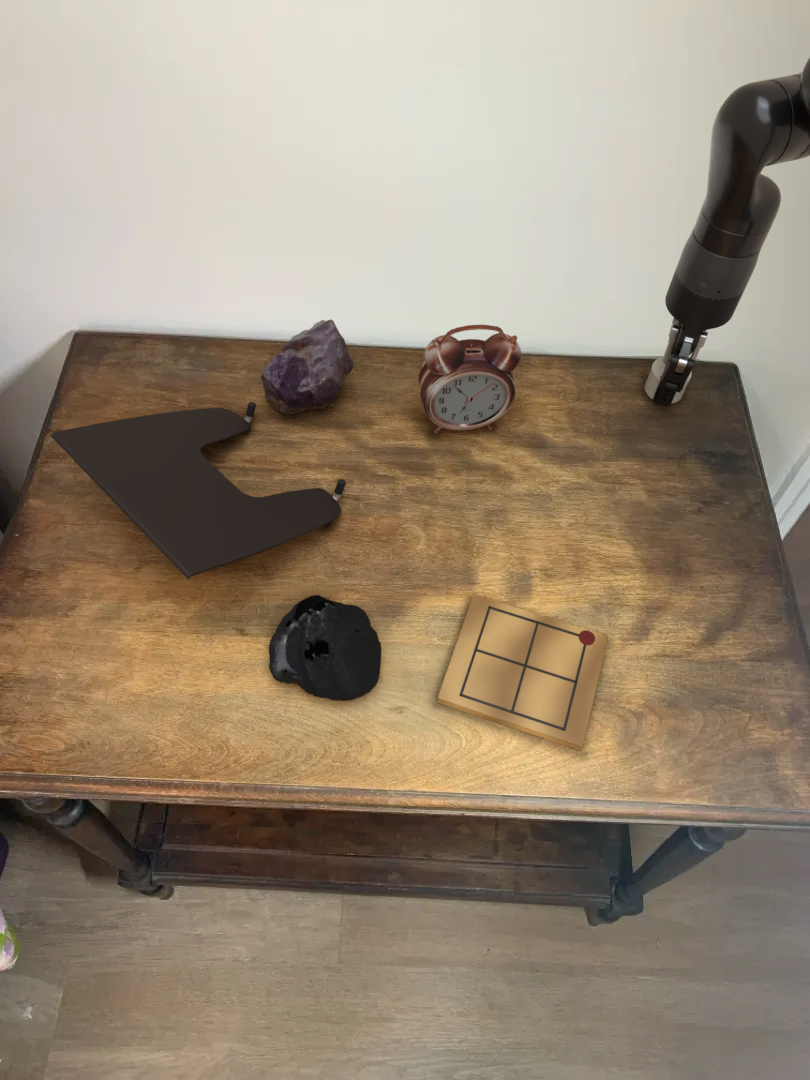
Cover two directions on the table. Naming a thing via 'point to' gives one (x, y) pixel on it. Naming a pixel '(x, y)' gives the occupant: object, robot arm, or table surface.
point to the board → (525, 671)
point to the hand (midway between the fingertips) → (665, 386)
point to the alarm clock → (468, 379)
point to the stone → (654, 380)
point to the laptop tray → (191, 487)
